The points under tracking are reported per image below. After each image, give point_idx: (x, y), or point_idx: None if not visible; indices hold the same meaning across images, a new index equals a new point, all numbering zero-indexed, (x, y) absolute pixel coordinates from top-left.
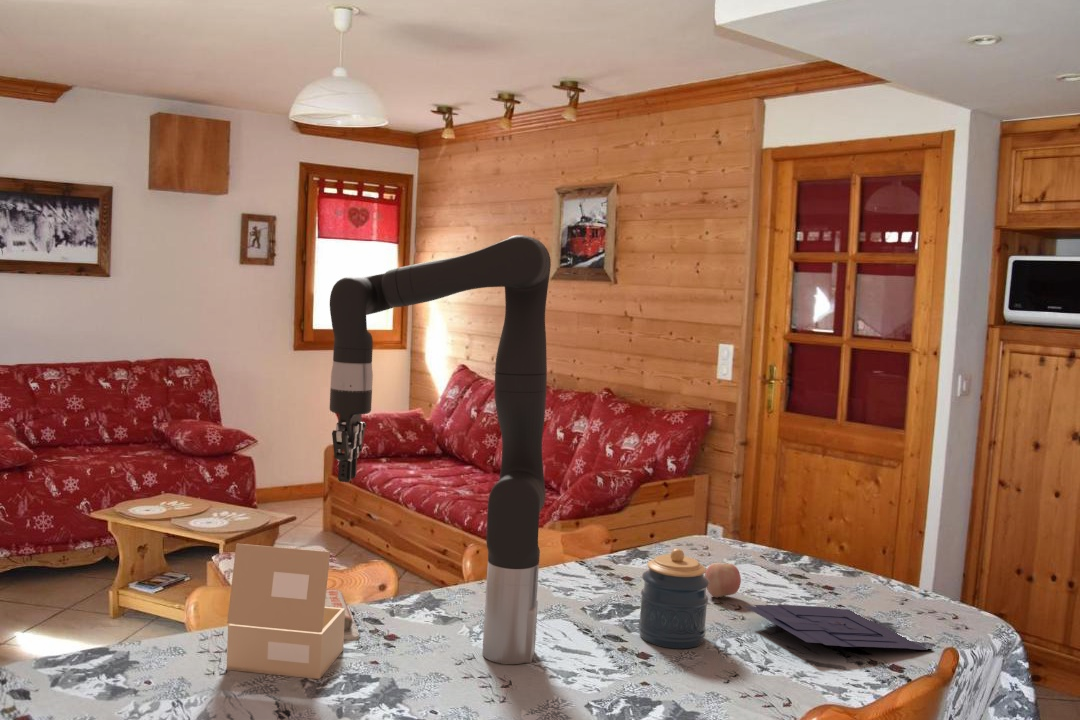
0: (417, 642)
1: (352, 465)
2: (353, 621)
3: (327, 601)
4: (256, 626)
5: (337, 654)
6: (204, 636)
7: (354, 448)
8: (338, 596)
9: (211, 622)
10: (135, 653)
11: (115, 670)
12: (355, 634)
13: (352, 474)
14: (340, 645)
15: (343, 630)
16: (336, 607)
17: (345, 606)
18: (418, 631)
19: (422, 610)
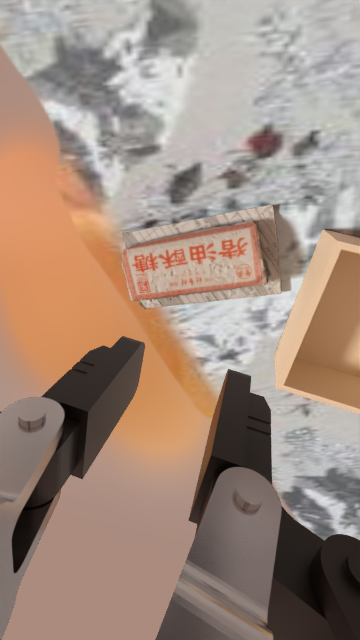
0: (297, 83)
1: (110, 398)
2: (205, 219)
3: (187, 271)
4: (292, 368)
5: (356, 237)
6: None
7: (200, 586)
8: (158, 253)
9: (201, 404)
10: (304, 471)
11: (356, 486)
12: (266, 212)
13: (136, 362)
14: (343, 235)
15: (333, 235)
16: (217, 254)
17: (199, 238)
18: (236, 86)
19: (123, 87)
